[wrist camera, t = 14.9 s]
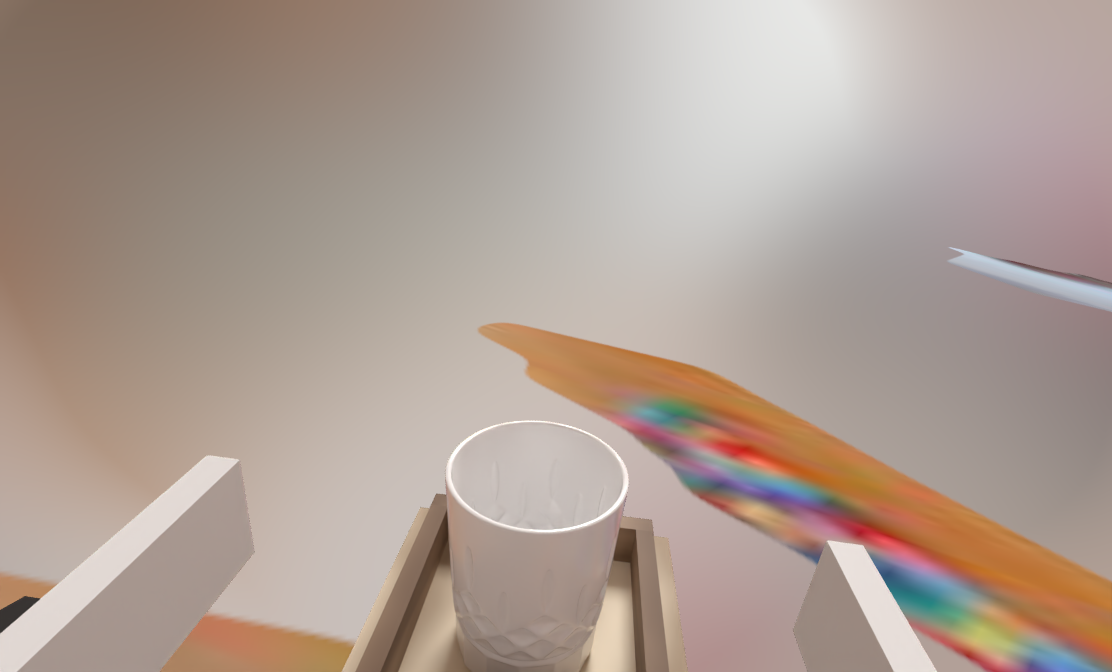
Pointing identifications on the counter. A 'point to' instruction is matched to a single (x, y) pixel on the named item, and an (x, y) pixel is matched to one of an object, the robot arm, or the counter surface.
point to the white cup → (531, 543)
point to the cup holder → (430, 619)
